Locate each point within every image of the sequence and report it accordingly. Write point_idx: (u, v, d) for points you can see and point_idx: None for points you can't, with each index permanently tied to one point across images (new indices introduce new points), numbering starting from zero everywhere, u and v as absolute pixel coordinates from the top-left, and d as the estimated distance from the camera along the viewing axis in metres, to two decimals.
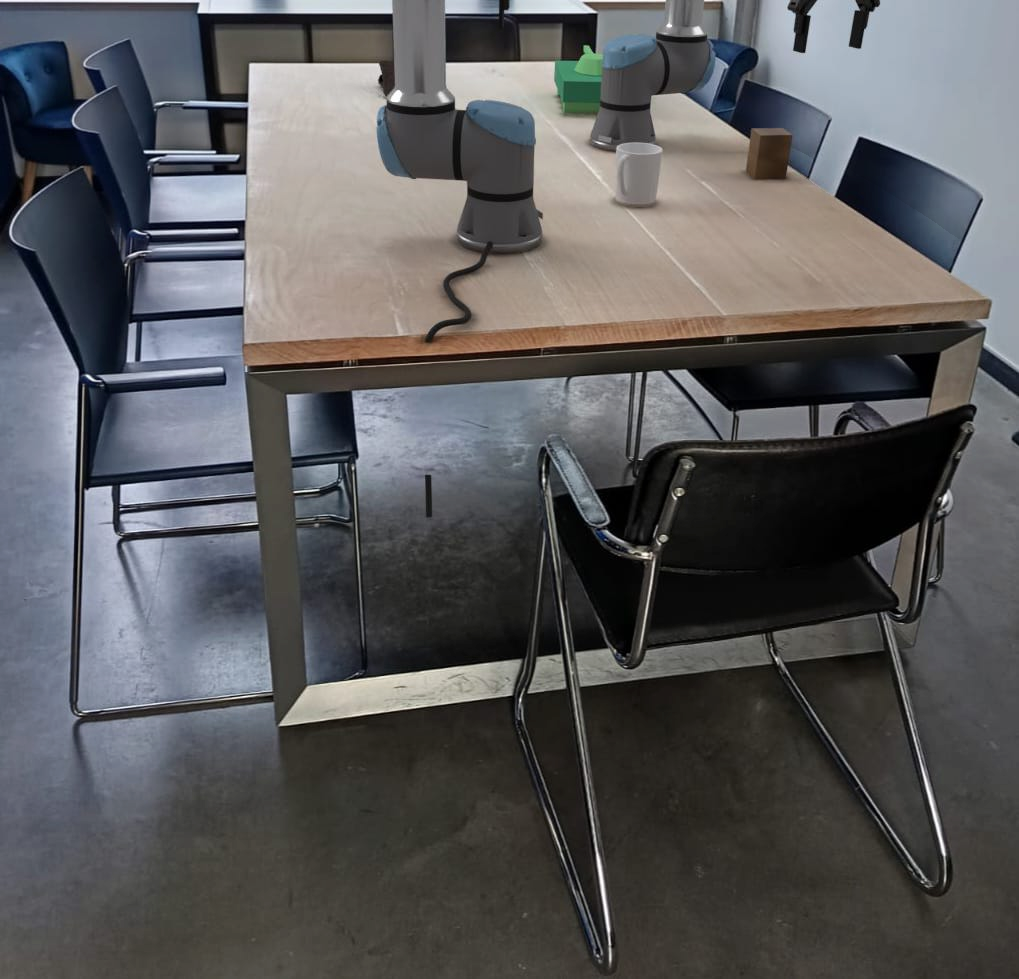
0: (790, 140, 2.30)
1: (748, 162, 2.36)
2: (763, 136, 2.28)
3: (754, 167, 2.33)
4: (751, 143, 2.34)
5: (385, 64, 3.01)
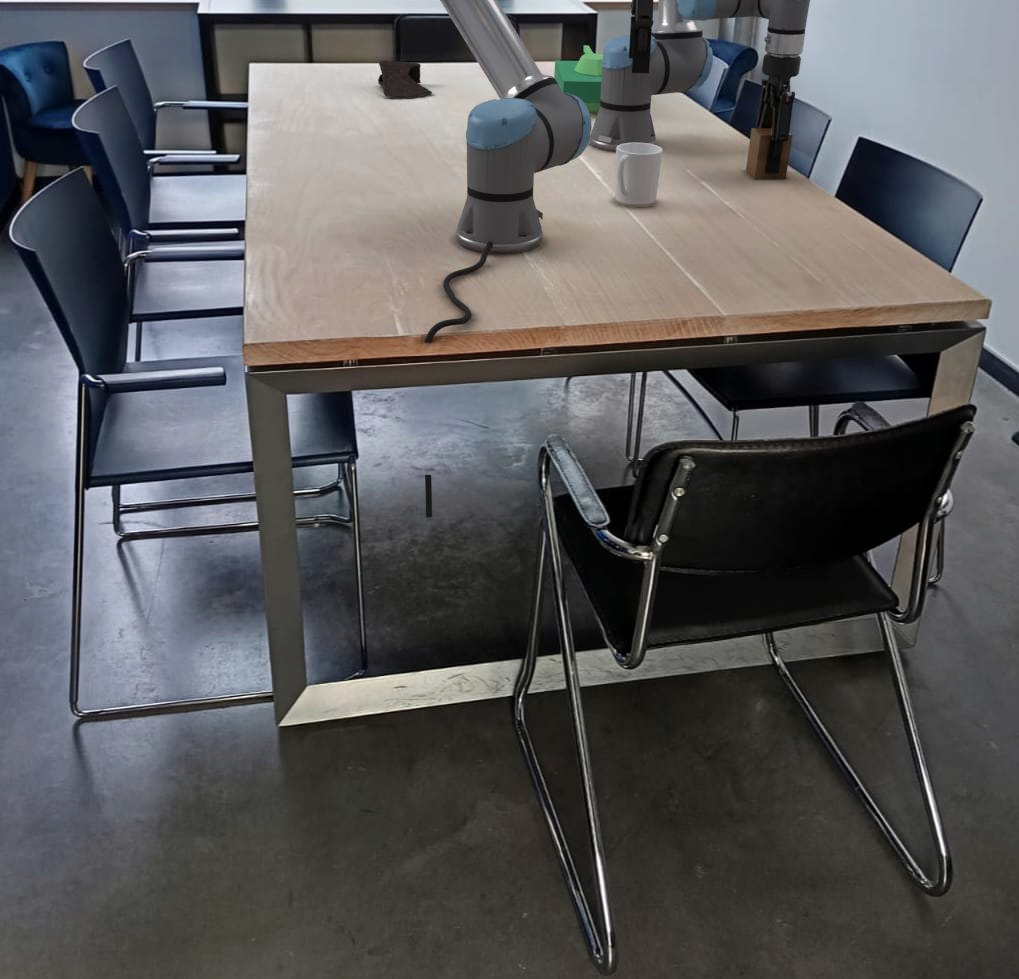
0: (790, 140, 2.30)
1: (748, 162, 2.36)
2: (763, 136, 2.28)
3: (754, 167, 2.33)
4: (751, 143, 2.34)
5: (385, 64, 3.01)
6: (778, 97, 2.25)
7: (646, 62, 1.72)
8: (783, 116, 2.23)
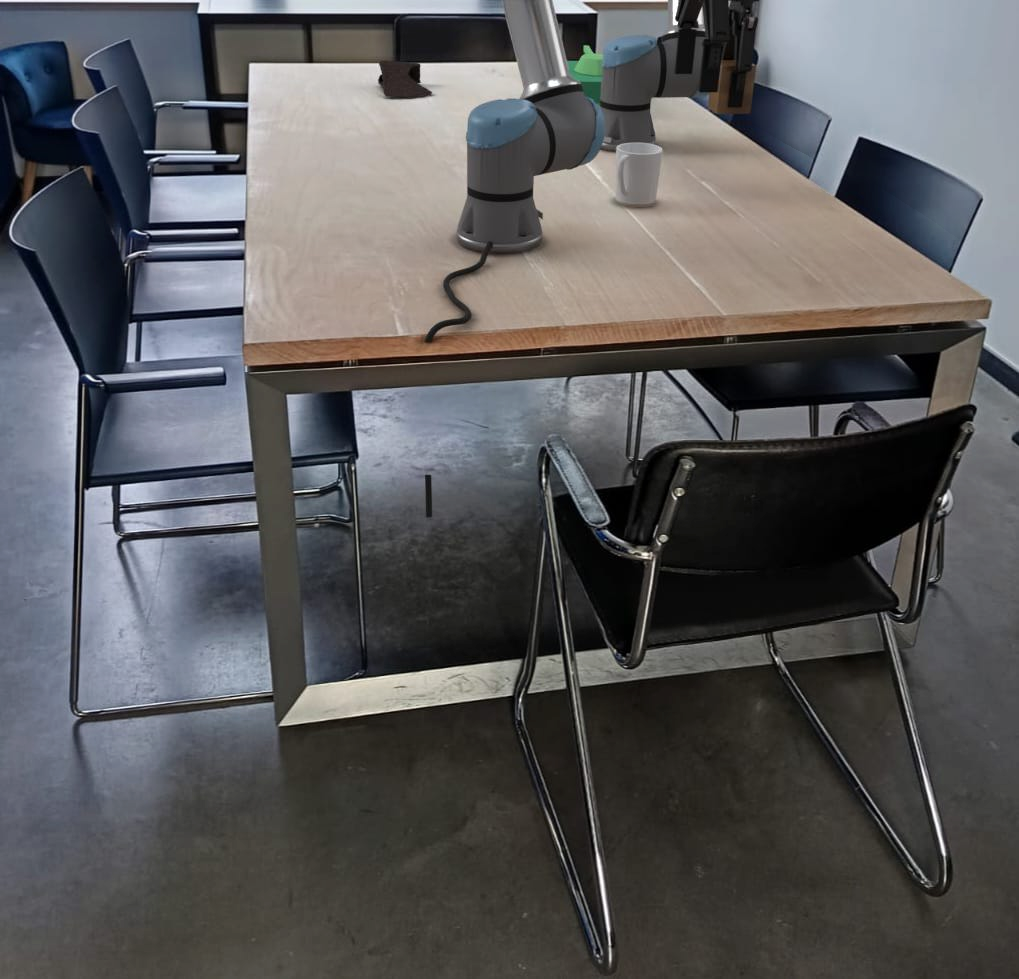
0: (754, 71, 2.15)
1: (710, 97, 2.21)
2: (725, 67, 2.14)
3: (716, 101, 2.18)
4: None
5: (385, 64, 3.01)
6: (740, 24, 2.10)
7: (715, 80, 1.61)
8: (745, 44, 2.09)
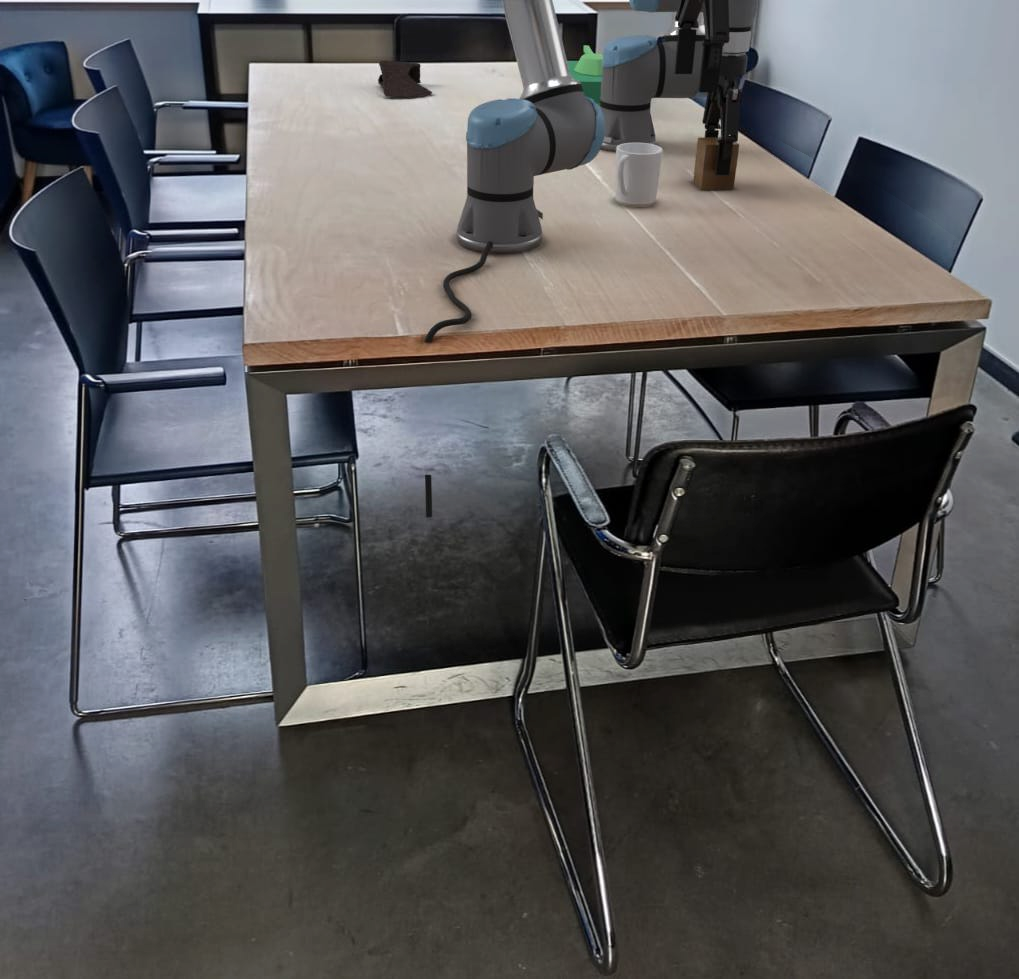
0: (737, 150, 2.22)
1: (695, 172, 2.28)
2: (709, 146, 2.21)
3: (700, 177, 2.25)
4: (697, 153, 2.26)
5: (385, 64, 3.01)
6: (724, 97, 2.16)
7: (715, 80, 1.61)
8: (731, 115, 2.14)
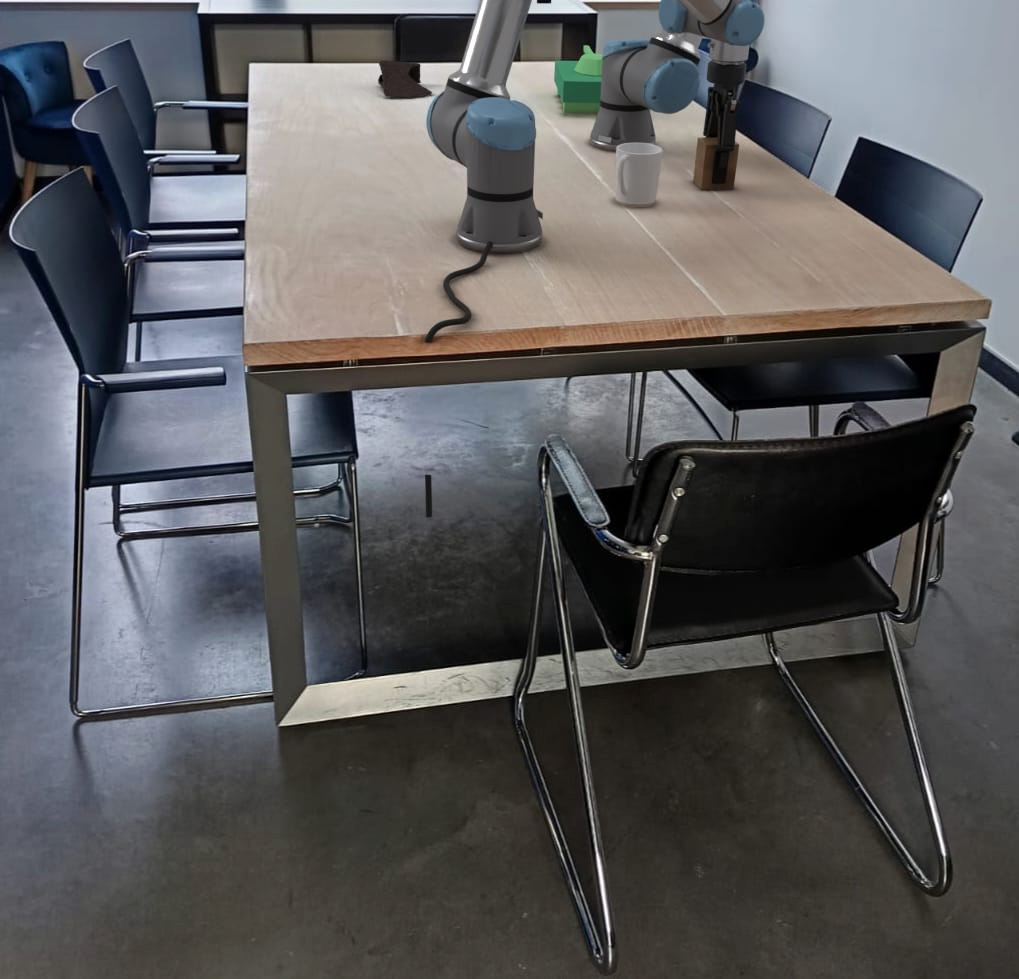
0: (737, 150, 2.22)
1: (695, 172, 2.28)
2: (709, 146, 2.21)
3: (700, 177, 2.25)
4: (697, 153, 2.26)
5: (385, 64, 3.01)
6: None
7: (724, 175, 2.24)
8: None
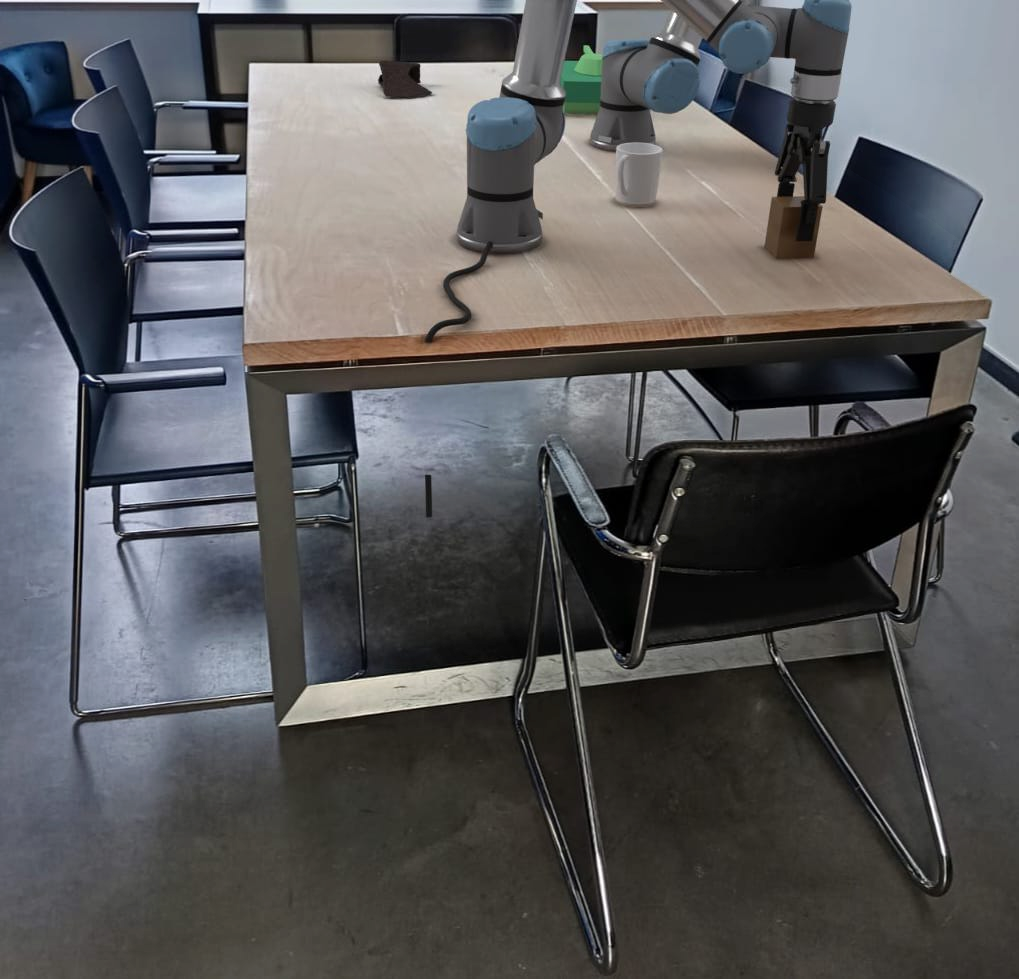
0: (820, 212, 1.87)
1: (767, 237, 1.93)
2: (787, 208, 1.86)
3: (775, 244, 1.90)
4: (771, 215, 1.91)
5: (385, 64, 3.01)
6: None
7: (811, 231, 1.85)
8: None
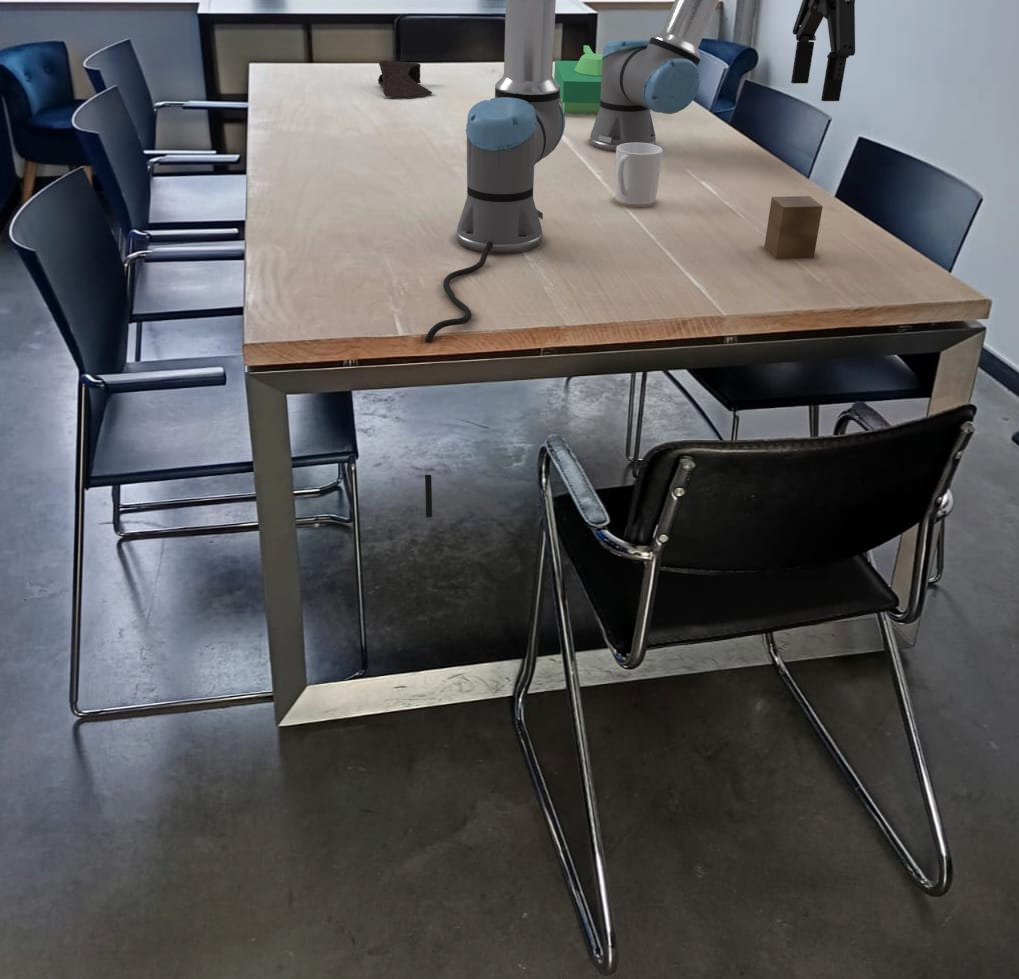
0: (820, 212, 1.87)
1: (767, 237, 1.93)
2: (787, 208, 1.86)
3: (775, 244, 1.90)
4: (771, 215, 1.91)
5: (385, 64, 3.01)
6: None
7: (838, 90, 1.72)
8: None
